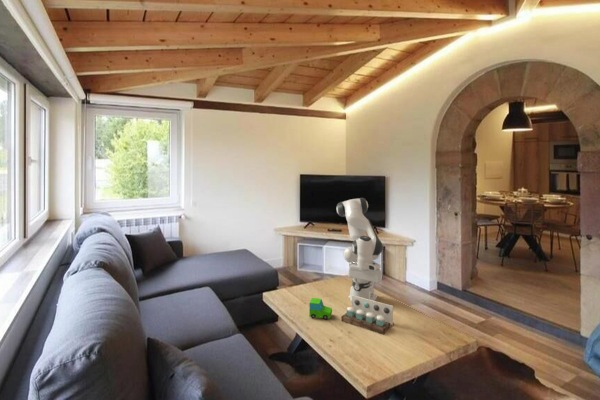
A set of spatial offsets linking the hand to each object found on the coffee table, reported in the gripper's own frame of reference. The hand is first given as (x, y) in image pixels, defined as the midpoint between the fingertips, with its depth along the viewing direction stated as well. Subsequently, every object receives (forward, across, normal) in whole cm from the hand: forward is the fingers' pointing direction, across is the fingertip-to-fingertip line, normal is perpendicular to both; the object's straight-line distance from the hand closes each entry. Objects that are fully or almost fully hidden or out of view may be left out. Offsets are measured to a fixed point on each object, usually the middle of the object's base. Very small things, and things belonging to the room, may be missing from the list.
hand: (364, 287), depth 204 cm
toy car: (+23, -26, -7) cm, 36 cm away
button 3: (+20, +4, +1) cm, 20 cm away
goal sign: (+23, 0, +9) cm, 25 cm away
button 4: (+20, +10, +1) cm, 23 cm away
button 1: (+20, -9, +1) cm, 22 cm away
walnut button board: (+23, 0, +1) cm, 23 cm away
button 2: (+20, -3, +1) cm, 20 cm away
